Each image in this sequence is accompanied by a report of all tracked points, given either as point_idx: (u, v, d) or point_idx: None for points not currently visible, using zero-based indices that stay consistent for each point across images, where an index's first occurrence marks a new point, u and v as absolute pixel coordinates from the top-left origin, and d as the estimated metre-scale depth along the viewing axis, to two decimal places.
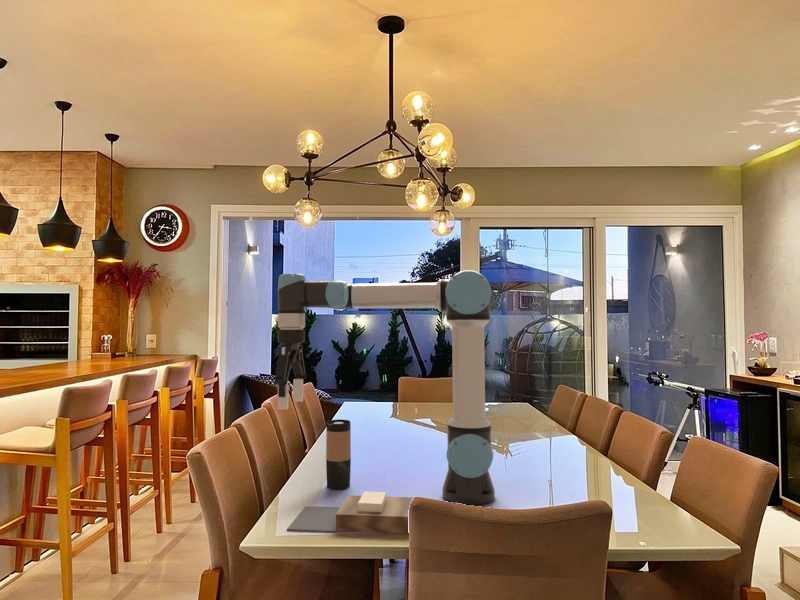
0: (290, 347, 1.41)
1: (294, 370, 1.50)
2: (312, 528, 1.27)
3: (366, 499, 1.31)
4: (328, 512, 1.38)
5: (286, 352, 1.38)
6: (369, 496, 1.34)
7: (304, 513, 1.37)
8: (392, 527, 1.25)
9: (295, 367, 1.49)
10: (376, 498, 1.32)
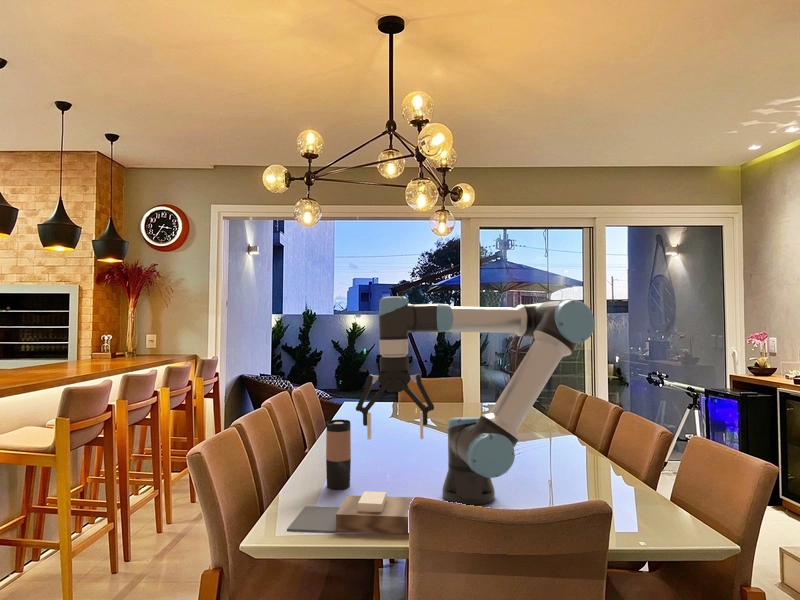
0: (380, 375, 1.34)
1: None
2: (312, 528, 1.27)
3: (366, 499, 1.31)
4: (328, 512, 1.38)
5: None
6: (369, 496, 1.34)
7: (304, 513, 1.37)
8: (392, 527, 1.25)
9: None
10: (376, 498, 1.32)
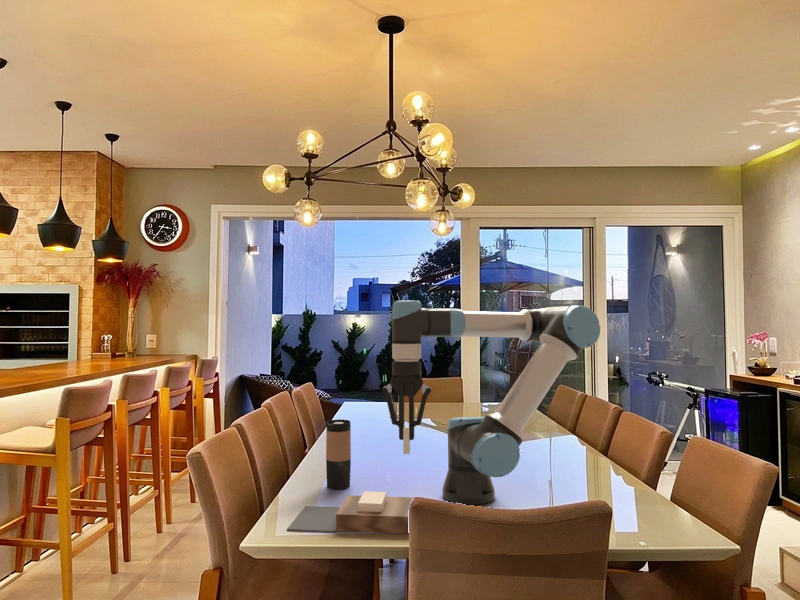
0: (391, 382, 1.33)
1: None
2: (312, 528, 1.27)
3: (366, 499, 1.31)
4: (328, 512, 1.38)
5: None
6: (369, 496, 1.34)
7: (304, 513, 1.37)
8: (392, 527, 1.25)
9: None
10: (376, 498, 1.32)
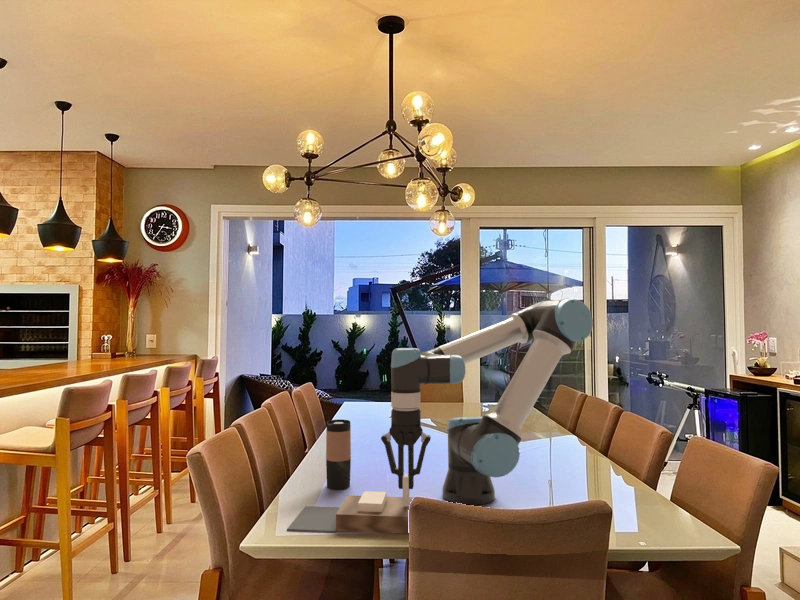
0: (390, 430, 1.32)
1: None
2: (312, 528, 1.27)
3: (366, 499, 1.31)
4: (328, 512, 1.38)
5: None
6: (369, 496, 1.34)
7: (304, 513, 1.37)
8: (392, 527, 1.25)
9: None
10: (376, 498, 1.32)
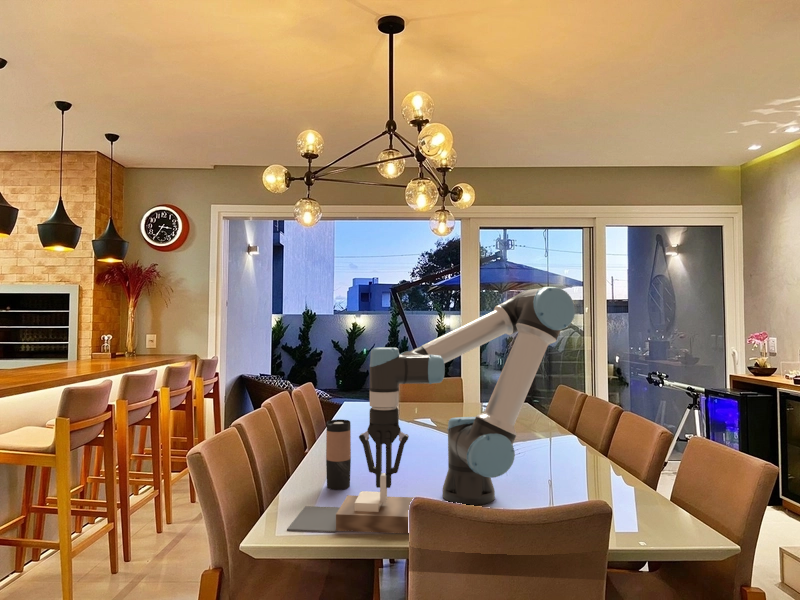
0: (368, 429, 1.33)
1: None
2: (312, 528, 1.27)
3: (363, 499, 1.31)
4: (328, 512, 1.38)
5: None
6: (366, 496, 1.34)
7: (304, 513, 1.37)
8: (392, 527, 1.25)
9: None
10: (373, 498, 1.32)
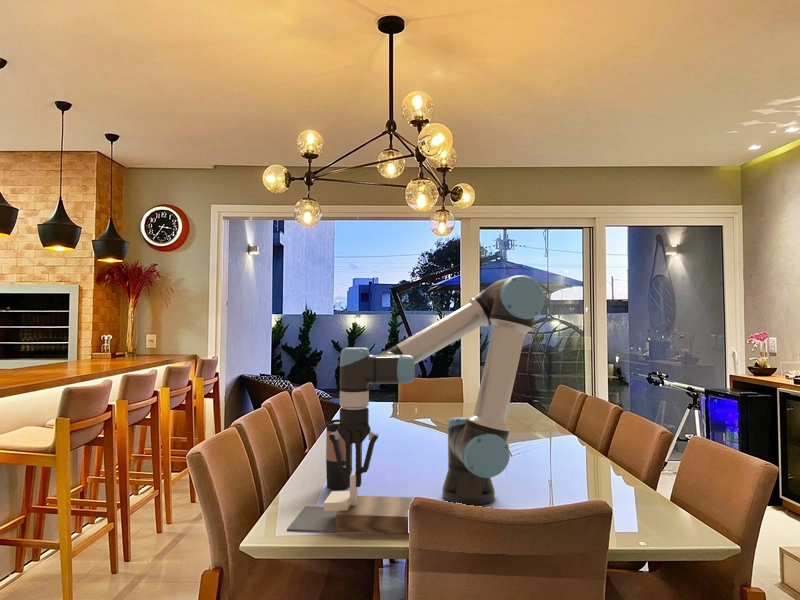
0: (338, 429, 1.34)
1: None
2: (312, 528, 1.27)
3: (332, 498, 1.32)
4: (328, 512, 1.38)
5: None
6: (336, 495, 1.34)
7: (304, 513, 1.37)
8: (392, 527, 1.25)
9: None
10: (342, 497, 1.33)
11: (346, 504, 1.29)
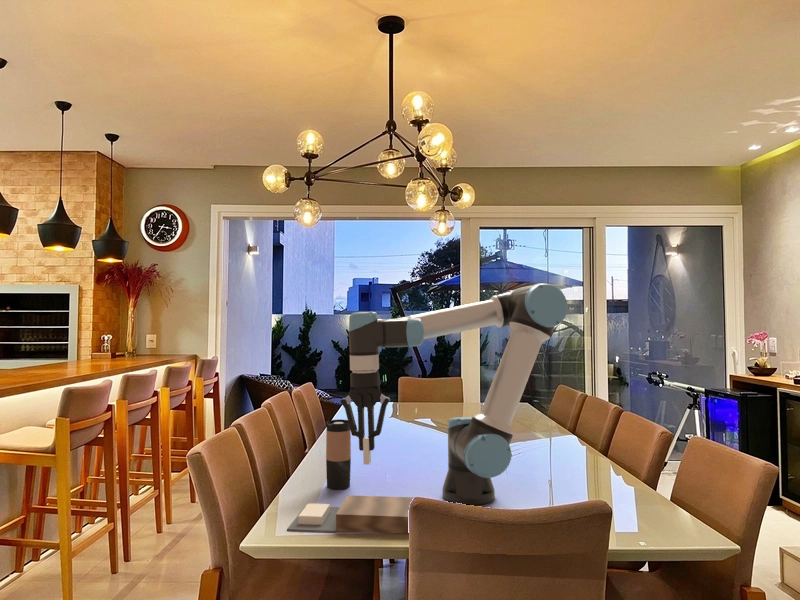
0: (349, 393, 1.34)
1: None
2: (312, 528, 1.27)
3: None
4: None
5: None
6: None
7: None
8: (392, 527, 1.25)
9: None
10: None
11: (299, 521, 1.30)
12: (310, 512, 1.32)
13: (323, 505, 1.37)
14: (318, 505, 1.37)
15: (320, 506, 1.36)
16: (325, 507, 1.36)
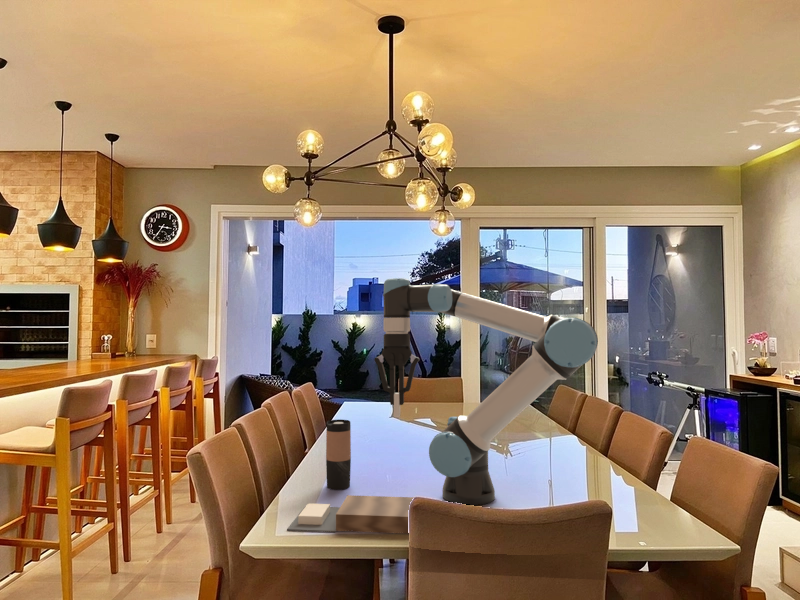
0: (382, 352, 1.46)
1: None
2: (312, 528, 1.27)
3: None
4: None
5: None
6: None
7: None
8: (392, 527, 1.25)
9: None
10: None
11: (299, 521, 1.30)
12: (310, 512, 1.32)
13: (323, 505, 1.37)
14: (318, 505, 1.37)
15: (320, 506, 1.36)
16: (325, 507, 1.36)
